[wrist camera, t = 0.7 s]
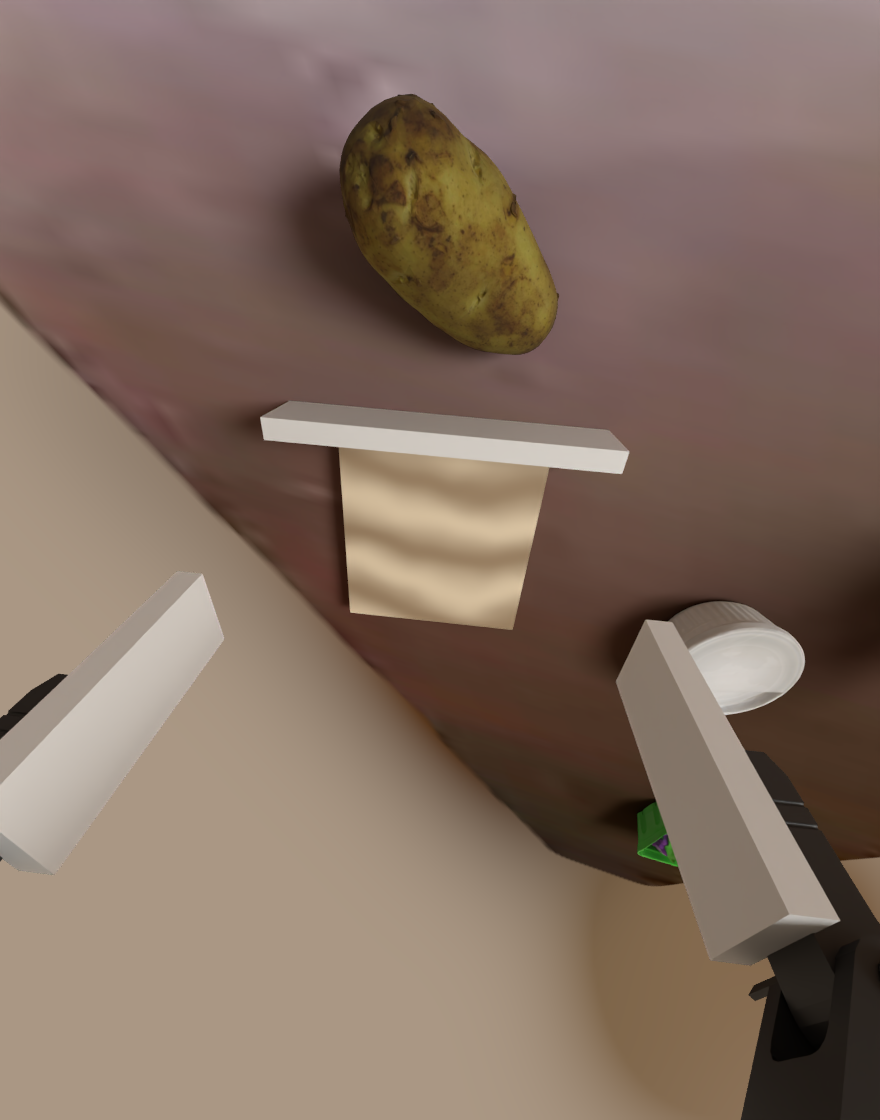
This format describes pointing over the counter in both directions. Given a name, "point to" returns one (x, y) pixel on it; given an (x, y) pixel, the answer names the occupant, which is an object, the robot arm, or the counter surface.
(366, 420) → the divider wall
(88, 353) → the counter surface
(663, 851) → the fruit basket
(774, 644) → the ramekin
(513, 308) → the potato
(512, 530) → the cutting board
